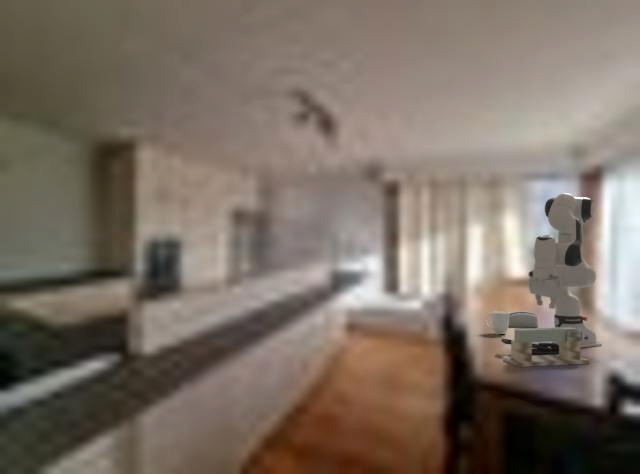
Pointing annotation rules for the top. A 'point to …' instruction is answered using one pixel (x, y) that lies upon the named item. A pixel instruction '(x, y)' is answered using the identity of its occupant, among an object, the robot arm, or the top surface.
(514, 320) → the grey curved block
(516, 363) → the rail posts
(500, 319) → the mug
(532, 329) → the rail
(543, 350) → the zipper pull
